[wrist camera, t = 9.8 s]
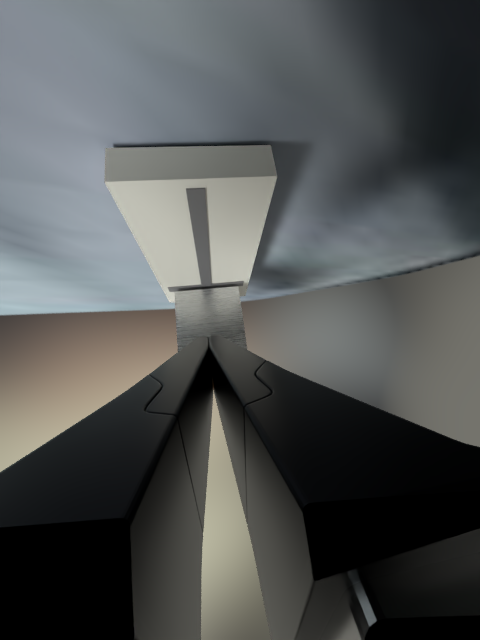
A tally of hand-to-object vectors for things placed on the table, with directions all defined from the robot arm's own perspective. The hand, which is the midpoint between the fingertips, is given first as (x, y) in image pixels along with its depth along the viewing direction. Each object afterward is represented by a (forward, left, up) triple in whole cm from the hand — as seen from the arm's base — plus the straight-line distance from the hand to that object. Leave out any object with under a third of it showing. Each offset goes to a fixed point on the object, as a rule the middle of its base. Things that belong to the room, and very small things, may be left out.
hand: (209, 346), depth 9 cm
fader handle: (+6, +6, -5) cm, 10 cm away
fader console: (+2, +2, -7) cm, 8 cm away
